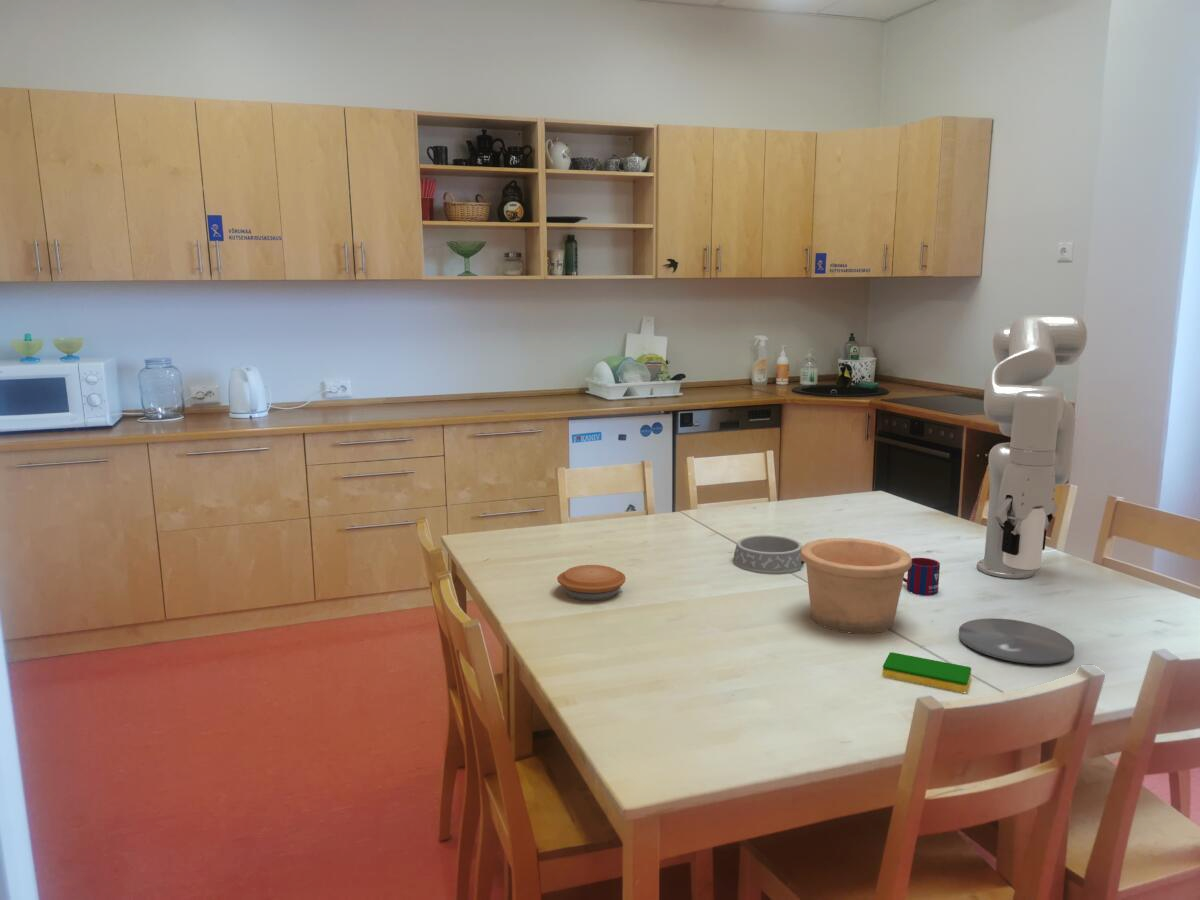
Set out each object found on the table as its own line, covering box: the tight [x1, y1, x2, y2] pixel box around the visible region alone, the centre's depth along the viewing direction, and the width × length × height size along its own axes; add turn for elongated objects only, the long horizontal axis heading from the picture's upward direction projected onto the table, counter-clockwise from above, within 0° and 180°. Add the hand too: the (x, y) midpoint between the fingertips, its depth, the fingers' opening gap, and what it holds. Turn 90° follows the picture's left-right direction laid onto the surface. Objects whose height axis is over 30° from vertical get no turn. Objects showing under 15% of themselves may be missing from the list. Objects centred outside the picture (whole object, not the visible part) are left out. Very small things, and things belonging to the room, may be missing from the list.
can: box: [1003, 506, 1046, 572], centre depth 161 cm, size 6×6×12 cm
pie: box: [556, 564, 626, 602], centre depth 194 cm, size 16×16×5 cm
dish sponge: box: [882, 651, 972, 693], centre depth 151 cm, size 7×14×2 cm, turn 61°
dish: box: [958, 617, 1075, 665], centre depth 165 cm, size 20×20×1 cm
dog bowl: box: [732, 534, 803, 576], centre depth 215 cm, size 17×18×5 cm
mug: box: [903, 557, 941, 596], centre depth 196 cm, size 7×10×7 cm
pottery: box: [801, 537, 912, 634], centre depth 177 cm, size 22×22×14 cm
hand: (1023, 549), depth 162 cm, fingers closed on can, 6 cm apart
